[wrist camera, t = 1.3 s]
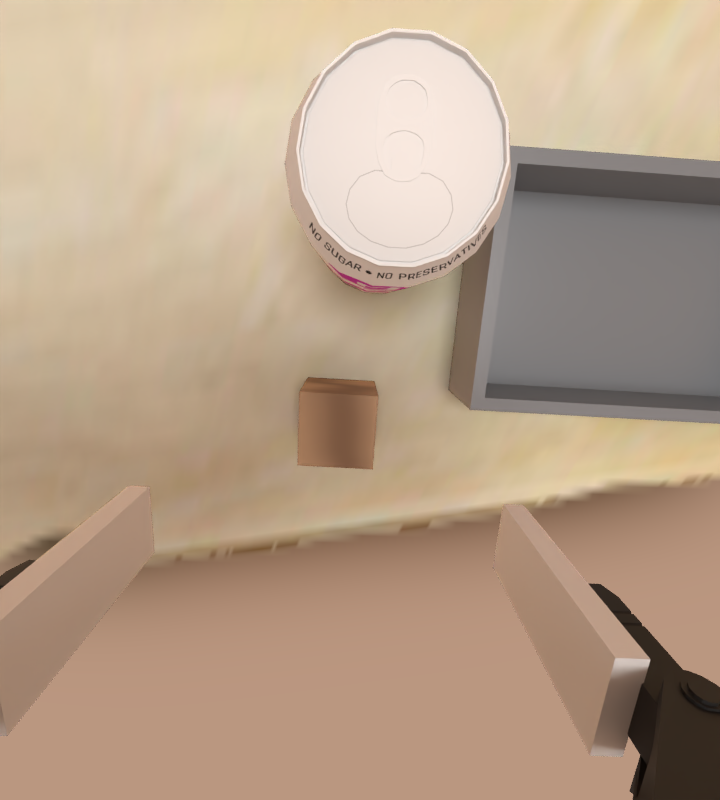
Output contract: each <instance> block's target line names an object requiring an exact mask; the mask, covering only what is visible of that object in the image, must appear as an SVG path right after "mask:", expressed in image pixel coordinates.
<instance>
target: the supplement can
mask: <svg viewBox="0 0 720 800" xmlns="http://www.w3.org/2000/svg"><path fill="white" fill-rule="evenodd" d="M285 169H286V175H287V182H288V188H289V195H290V201H291V207H292V209H293V211H294V213H295V215H296V217H297V219H298V221H299V223H300V224H301V226H302V228H303V230H304V232H305V234H306V236H307V238H308V240H309V242H310V244H311V245H312V246H313V248H314V249H315V250H316V252H317V253H318V254H319V255H320V257H321V258H322V259H323V261H324V262H325V263H326V265H327V266H328V267H329V268H330V270H331V271H332V272H334V273H335V274H336V275H337V276H338V277H339V278H340V279H341V280H342V281H343V282H344V283H345V284H347V285H349V286H351V287H354V288H356V289H358V290H361V291H363V292H370V293H388V292H392V291H396V290H400V289H405V288H409V287H412V286H415V285H418V284H421V283H424V282H428V281H431V280H434V279H437V278H440V277H443V276H446V275H447V274H448V273H450V272H451V271H452V270H453V269H455V268H456V267H457V266H459V265H460V264H461V263H463V262H464V261H465V260H467V259H468V258H469V257H470V256H472V255H473V254H474V253H476V252H477V250H478V249H479V247H480V246H481V244H482V243H483V241H484V240H485V238H486V237H487V235H488V234H489V232H490V231H491V229H492V228H493V226H494V225H495V223H496V222H497V220H498V219H499V216H500V213H501V209H502V206H503V202H504V199H505V195H506V192H507V189H508V185H509V182H510V178H511V165H510V133H509V124H508V117H507V115H506V112H505V109H504V107H503V104H502V101H501V98H500V96H499V93H498V90H497V88H496V85H495V82H494V80H493V79H492V78H491V77H490V75H489V74H488V73H487V72H486V71H485V69H484V68H483V67H482V66H481V65H480V64H479V62H478V61H477V60H476V59H475V58H474V56H473V55H472V54H471V53H470V52H469V51H468V49H466V48H464V47H462V46H460V45H458V44H456V43H454V42H453V41H451V40H449V39H447V38H445V37H443V36H441V35H439V34H437V33H435V32H433V31H429V30H414V29H399V28H391V29H388V30H385V31H383V32H380V33H377V34H374V35H371V36H369V37H366V38H363V39H360V40H358V41H355V42H353V43H352V44H351V45H350V46H349V47H348V48H347V49H346V50H344V51H343V52H342V53H341V54H340V55H339V56H338V57H337V58H336V59H334V60H333V61H332V62H331V63H330V64H329V65H328V66H327V67H325V68H324V69H323V71H322V72H321V73H320V74H319V75H318V76H317V77H316V78H314V79H313V81H312V83H311V84H310V86H309V88H308V90H307V92H306V94H305V96H304V98H303V100H302V101H301V103H300V105H299V107H298V109H297V111H296V113H295V115H294V117H293V118H292V122H291V128H290V134H289V140H288V146H287V153H286V159H285Z"/></svg>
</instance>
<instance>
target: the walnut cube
mask: <svg viewBox="0 0 720 800" xmlns="http://www.w3.org/2000/svg"><path fill="white" fill-rule="evenodd" d="M377 405H378V394H377V390H376V386H375V382H374V381H361V380H344V379H327V378H310V377H308V378H307V380H306V382H305V383H304V385H303V387H302V388H301V390H300V392H299V428H298V465H302V466H322V467H341V468H361V469H373V458H374V445H375V431H376V418H377Z"/></svg>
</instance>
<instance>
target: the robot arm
mask: <svg viewBox="0 0 720 800" xmlns="http://www.w3.org/2000/svg"><path fill="white" fill-rule="evenodd" d="M153 554H154V540H153V526H152V512H151V499H150V487H146V486H127V487H126V488H125V489H124V490H122V491H121V492H120V493H119V494H118V495H116V496H115V497H114V498H113V499H111V500H110V501H109V502H108V503H106V504H105V505H104V506H103V507H101V508H100V509H99V510H98V511H97V512H95V513H94V514H93V515H92V516H90V517H89V518H88V519H87V520H85V521H84V522H83V523H82V524H80V525H79V526H78V527H77V528H76V529H74V530H73V531H72V532H71V533H69V534H68V535H67V536H66V537H64V538H63V539H62V540H61V541H59V542H58V543H57V544H56V545H55V546H54V547H52V548H51V549H50V550H48V551H47V552H46V553H45V554H43V555H42V556H41V557H40V558H38V559H37V560H28V561H26V562H24V563H22V564H20V565H18V566H16V567H14V568H12V569H10V570H8V571H6V572H5V573H4V574H3V575H1V576H0V736H8V734H9V733H10V732H11V731H12V729H13V728H14V727H15V726H16V724H17V723H18V722H19V721H20V719H21V718H22V717H23V716H24V714H25V713H26V712H27V711H28V709H29V708H30V707H31V705H32V704H33V703H34V702H35V701H36V700H37V698H38V697H39V696H40V695H41V693H42V692H43V691H44V690H45V688H46V687H47V686H48V684H49V683H50V682H51V681H52V680H53V678H54V677H55V676H56V674H57V673H58V672H59V671H60V670H61V668H62V667H63V666H64V665H65V663H66V662H67V661H68V660H69V658H70V657H71V656H72V655H73V653H74V652H75V651H76V650H77V648H78V647H79V646H80V645H81V643H82V642H83V641H84V640H85V638H86V637H87V636H88V635H89V633H90V632H91V631H92V630H93V628H94V627H95V626H96V625H97V623H98V622H99V621H100V620H101V619H102V617H103V616H104V615H105V613H106V612H107V611H108V609H110V607H111V606H112V605H113V604H114V602H115V601H116V600H117V599H118V597H119V596H120V595H121V594H122V592H123V591H124V590H125V589H126V587H127V586H128V585H129V584H130V582H131V581H132V580H133V579H134V577H135V576H136V575H137V574H138V572H139V571H140V570H141V569H142V567H143V566H144V565H145V564H146V562H147V561H148V560H149V559H150V557H151V556H152V555H153ZM493 569H494V570H495V573H496V575H497V576H498V578H499V580H500V582H501V584H502V586H503V588H504V590H505V592H506V594H507V596H508V598H509V600H510V602H511V603H512V605H513V607H514V609H515V611H516V613H517V615H518V617H519V619H520V621H521V623H522V625H523V627H524V629H525V631H526V633H527V635H528V636H529V638H530V640H531V642H532V644H533V646H534V648H535V650H536V652H537V654H538V656H539V658H540V660H541V662H542V664H543V666H544V668H545V670H546V672H547V673H548V675H549V677H550V679H551V681H552V683H553V685H554V687H555V689H556V691H557V693H558V695H559V697H560V699H561V701H562V703H563V704H564V706H565V708H566V710H567V712H568V714H569V716H570V718H571V720H572V722H573V724H574V726H575V728H576V730H577V732H578V734H579V736H580V737H581V739H582V741H583V743H584V745H585V747H586V749H587V751H588V753H589V755H590V756H616V757H617V756H618V757H622V756H623V754H624V750H625V747H626V743H627V740H628V736H629V737H630V739H631V741H632V742H633V744H634V745H635V747H636V749H637V750H638V752H639V753H640V758H639V762H638V765H637V769H636V772H635V775H634V778H633V782H632V785H631V789H630V792H631V793H633V800H720V687H718V686H717V685H716V684H714V683H713V682H711V681H709V680H707V679H706V678H704V677H702V676H700V675H697V674H695V673H692V672H689V671H686V670H683V669H682V668H681V667H680V666H679V665H678V664H677V663H676V661H675V660H674V659H673V658H672V657H671V656H670V655H669V654H668V652H667V651H666V650H665V649H664V648H663V647H662V646H661V645H660V643H659V642H658V641H657V640H656V639H655V638H654V637H653V636H652V634H651V633H650V632H649V631H648V630H647V629H646V628H645V627H644V626H642V623H641V622H640V621H639V620H638V619H637V618H636V617H635V616H634V614H631V611H630V610H629V609H628V608H627V606H626V605H625V604H624V603H623V602H622V601H621V600H620V598H619V597H617V596H616V595H615V594H613V593H612V592H611V591H609V590H608V589H606V588H605V587H604V586H602V585H601V584H588V583H587V582H586V580H585V579H584V578H583V577H582V576H581V574H580V573H579V572H578V571H577V569H576V568H575V567H574V566H573V565H572V563H571V562H570V561H569V560H568V559H567V557H566V556H565V555H564V554H563V552H562V551H561V550H560V549H559V548H558V547H557V545H556V544H555V543H554V542H553V540H552V539H551V538H550V537H549V535H548V534H547V533H546V532H545V531H544V530H543V528H542V527H541V526H540V525H539V523H538V522H537V521H536V520H535V519H534V517H533V516H532V515H531V514H530V512H529V511H528V510H527V509H526V508H525V506H524V505H513V504H503V509H502V515H501V521H500V528H499V534H498V540H497V546H496V553H495V559H494V565H493Z"/></svg>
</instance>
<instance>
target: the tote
mask: <svg viewBox="0 0 720 800" xmlns="http://www.w3.org/2000/svg"><path fill="white" fill-rule="evenodd" d="M510 165H511V178H510V182H509V185H508V189H507V192H506V195H505V199H504V202H503V206H502V209H501V213H500V216H499V219H498V220H497V222H496V223H495V225H494V226H493V228H492V229H491V231H490V232H489V234H488V235H487V237H486V238H485V240H484V241H483V243H482V244H481V246H480V247H479V249H478V250H477V252H476V253H474V254H473V255H472V256H470V257H469V258H468V259H467V260H465V261H464V263H463V271H462V280H461V288H460V297H459V305H458V314H457V322H456V331H455V339H454V348H453V356H452V365H451V373H450V382H449V390H450V391H451V392H452V393H453V394H454V395H455V396H456V397H457V398H458V399H459V400H460V401H461V402H462V403H463V404H465V405H466V406H467V407H468V408H469V409H470V410H484V411H502V412H519V413H537V414H555V415H573V416H591V417H609V418H627V419H645V420H663V421H681V422H699V423H717V424H720V161H707V160H694V159H681V158H667V157H654V156H641V155H627V154H614V153H601V152H587V151H574V150H561V149H547V148H534V147H521V146H510Z"/></svg>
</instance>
